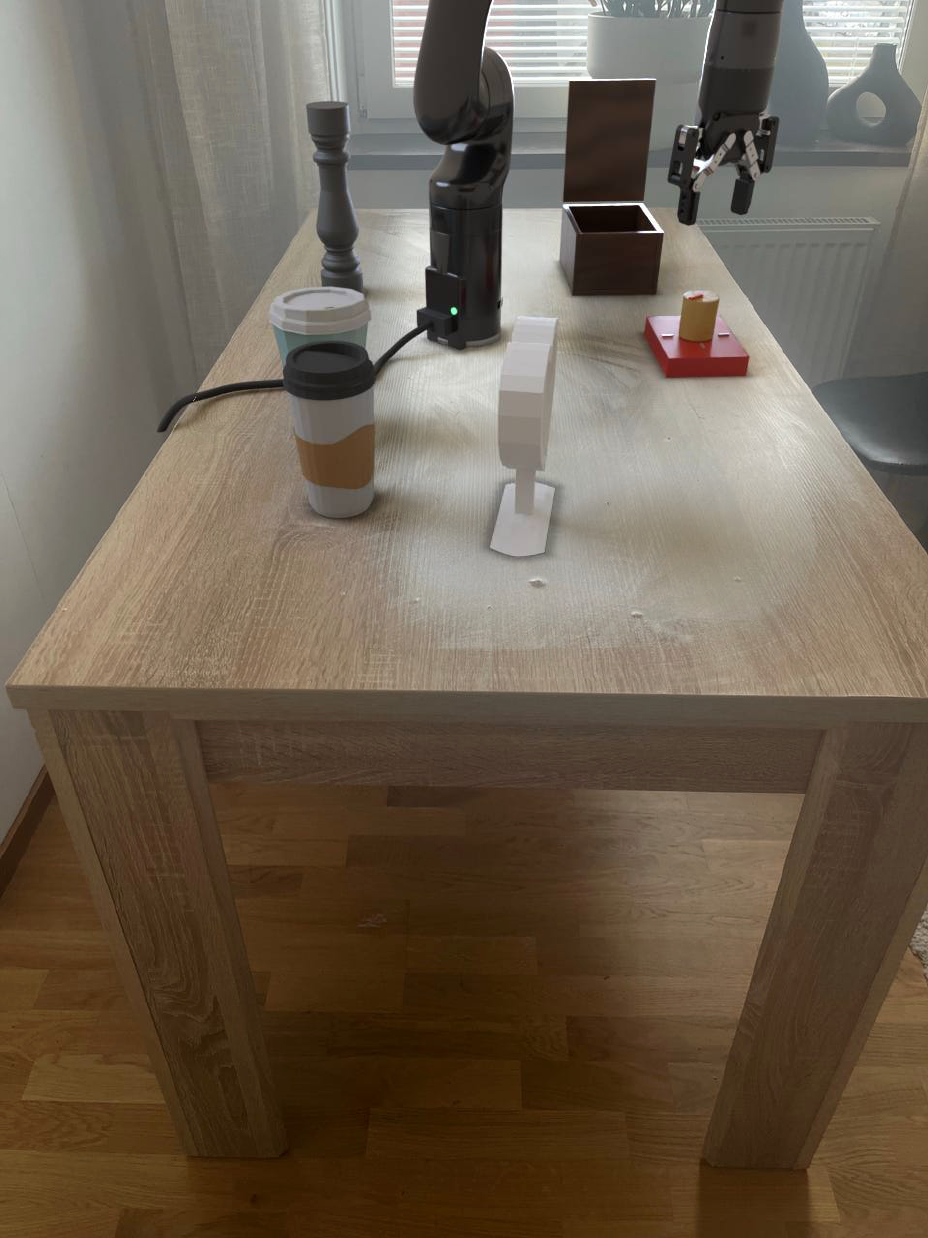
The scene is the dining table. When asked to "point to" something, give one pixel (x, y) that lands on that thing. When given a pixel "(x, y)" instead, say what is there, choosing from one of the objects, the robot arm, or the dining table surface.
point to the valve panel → (695, 350)
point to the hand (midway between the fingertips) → (713, 218)
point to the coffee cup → (333, 424)
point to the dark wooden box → (610, 249)
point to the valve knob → (698, 315)
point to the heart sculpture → (526, 435)
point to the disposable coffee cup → (319, 317)
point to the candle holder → (335, 195)
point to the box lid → (607, 139)
